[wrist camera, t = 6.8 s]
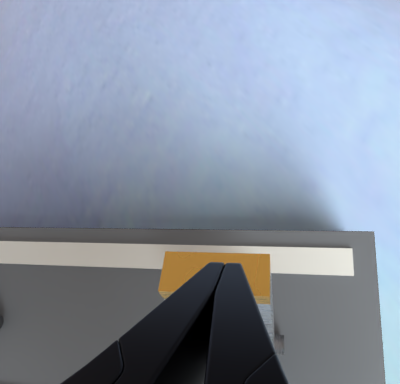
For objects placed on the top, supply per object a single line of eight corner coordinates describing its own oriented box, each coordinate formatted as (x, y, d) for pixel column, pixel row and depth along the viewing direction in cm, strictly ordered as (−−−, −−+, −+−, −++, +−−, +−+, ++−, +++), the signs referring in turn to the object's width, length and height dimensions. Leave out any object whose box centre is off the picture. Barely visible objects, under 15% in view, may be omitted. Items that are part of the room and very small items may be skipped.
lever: (284, 362, 16) (285, 297, 9) (196, 354, 16) (144, 290, 10) (283, 333, 16) (284, 254, 10) (200, 327, 17) (152, 250, 11)
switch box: (365, 441, 19) (394, 493, 14) (-57, 388, 24) (-143, 413, 19) (353, 244, 21) (375, 230, 16) (-27, 237, 27) (-96, 225, 22)
